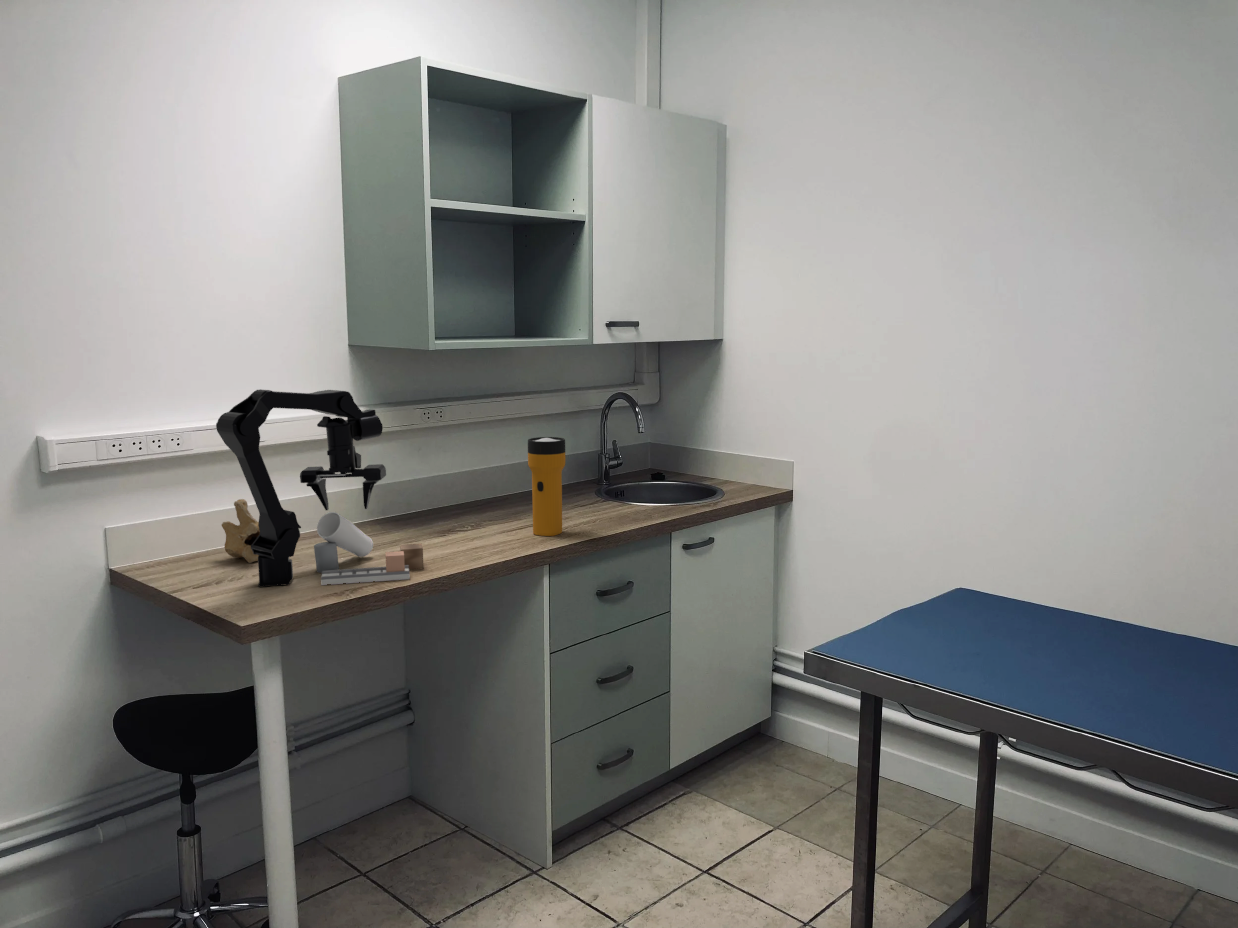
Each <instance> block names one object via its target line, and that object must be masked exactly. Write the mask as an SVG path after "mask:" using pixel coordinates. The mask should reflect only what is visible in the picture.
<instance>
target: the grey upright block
mask: <svg viewBox="0 0 1238 928" xmlns="http://www.w3.org/2000/svg"><path fill="white" fill-rule="evenodd" d="M313 550H314V551H313V552H314V558H315V559H314V561H315V567H316V573H319V574H320V573H321V574H322V571H327V570H340V567H339V566H340V565H339V555H338V547H337V545H336V542H328V541H323V542H319V543H315V544H314V545H313Z"/></svg>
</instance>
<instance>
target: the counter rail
mask: <svg viewBox="0 0 1238 928" xmlns="http://www.w3.org/2000/svg"><path fill="white" fill-rule="evenodd" d="M410 574H411V573H410V570H409V565H405V571H396V572H386V566H377V567H373V566H372V567H361V568H360V567H359V568H345V569H344V568H343V569H338V570H327V571H322V573H321V576H320V585H321V586H327V584H331V585H344V584H343V583H346V584H356V583H357V584H359V582H360V583H371V582H373V581H375V582H385V581H399V580H400V581H402V580H410V579H411V576H410ZM373 583H374V582H373Z"/></svg>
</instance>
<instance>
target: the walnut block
mask: <svg viewBox="0 0 1238 928" xmlns="http://www.w3.org/2000/svg"><path fill="white" fill-rule="evenodd" d="M399 547H400V548H399V549H400V550H399V551H404V565H409V571H411V570H410V569H414V570H424V567H425V566H424V548H423V547H424V546H423V543H404V544H403V543H402V544H400V545H399Z"/></svg>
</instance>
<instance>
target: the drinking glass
mask: <svg viewBox="0 0 1238 928" xmlns="http://www.w3.org/2000/svg"><path fill="white" fill-rule="evenodd" d="M316 525H317V526H316V533H317V535H318V536H319V537H320V538H322V539H323V540H324V541H325V542H336V545H337V548H340V549H343V550H345V551H347V552H349V553H351V554H353V555H355V556H357V557H360V558H363V557H366V556H368V555H369V554H370V553H372V551H373V548H374V542H373V540H372V538H371V537H370V536H368V534H365V533H364V532H363V531H362V530H361V529H360V528H359V527H357V526H356V525H355V524H354V523H353V522H352V521H350V520H349V519H347V517H345V516H343V515H341V514H340V513H338V512H336V511H329V512H327V513H325V514H324V515H322V516H321V517H320V518H319V520H318V522H317V524H316Z"/></svg>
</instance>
